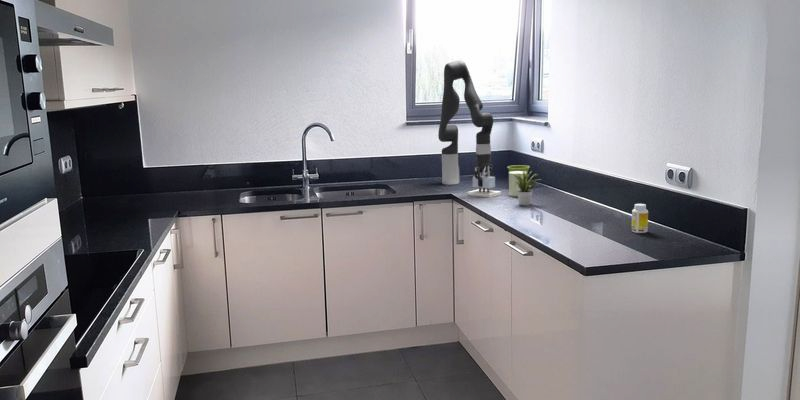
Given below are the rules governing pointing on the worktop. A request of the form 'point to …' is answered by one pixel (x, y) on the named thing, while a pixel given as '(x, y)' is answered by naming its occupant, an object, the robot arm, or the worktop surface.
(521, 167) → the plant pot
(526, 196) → the house plant
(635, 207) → the supplement bottle
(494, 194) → the white peg board
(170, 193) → the worktop surface
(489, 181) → the plug housing
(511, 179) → the can
